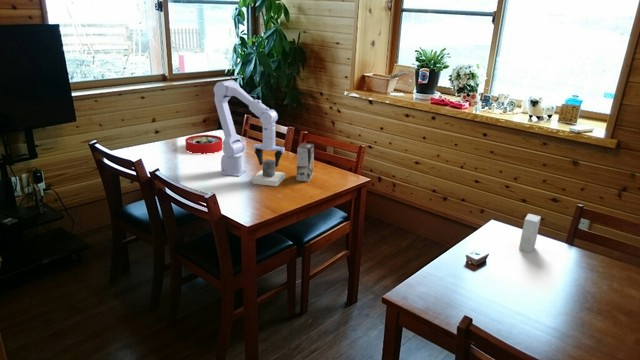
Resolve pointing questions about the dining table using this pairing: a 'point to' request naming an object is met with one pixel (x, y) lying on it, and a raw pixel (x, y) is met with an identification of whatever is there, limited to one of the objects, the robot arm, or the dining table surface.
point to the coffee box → (305, 162)
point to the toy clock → (204, 144)
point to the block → (268, 168)
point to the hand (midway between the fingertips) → (268, 165)
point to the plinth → (268, 179)
